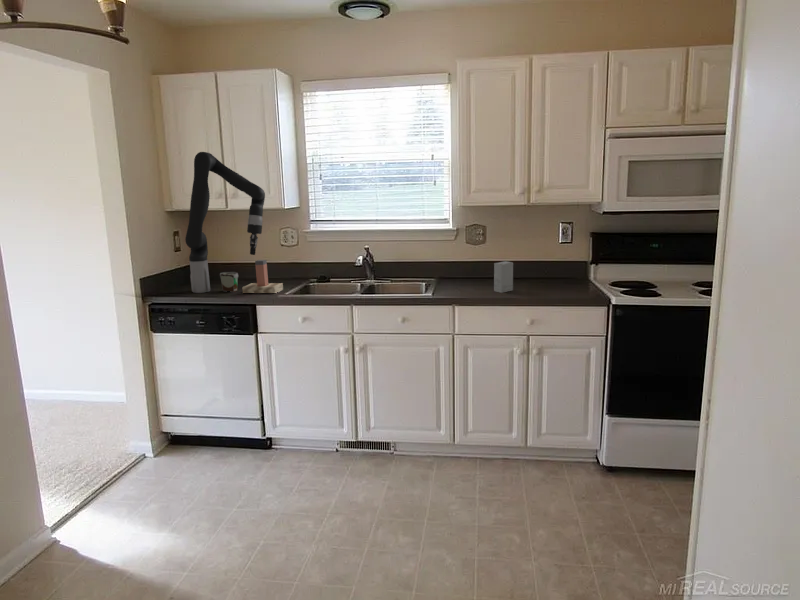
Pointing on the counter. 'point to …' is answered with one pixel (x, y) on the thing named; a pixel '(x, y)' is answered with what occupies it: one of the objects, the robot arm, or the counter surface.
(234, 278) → the food container
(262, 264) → the pink tall block
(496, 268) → the skincare box
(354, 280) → the counter surface
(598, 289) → the counter surface
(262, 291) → the beige rectangular block
